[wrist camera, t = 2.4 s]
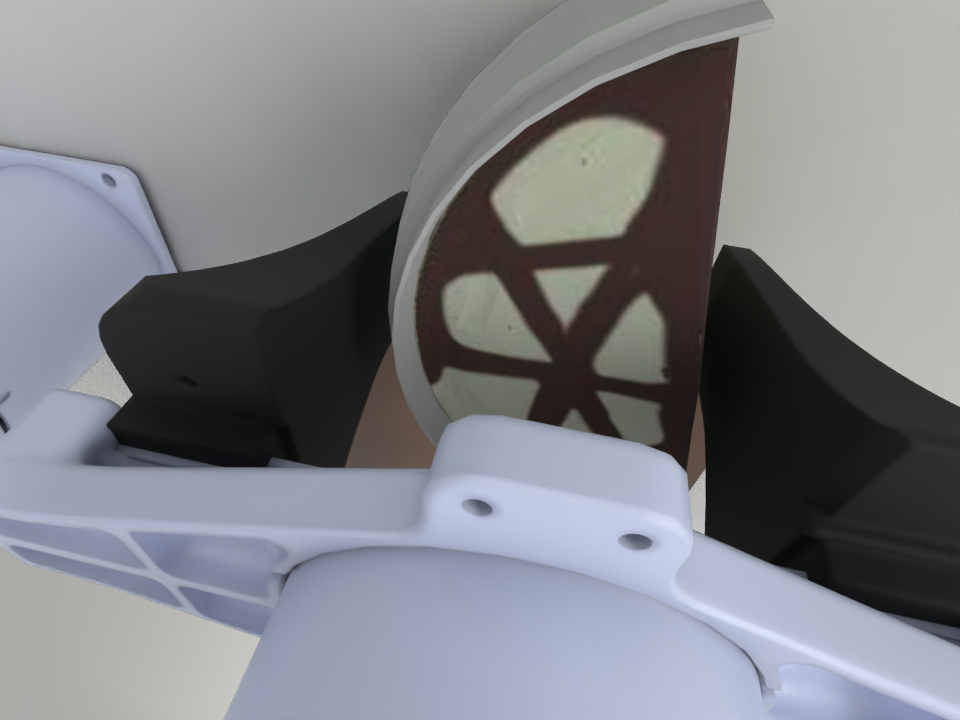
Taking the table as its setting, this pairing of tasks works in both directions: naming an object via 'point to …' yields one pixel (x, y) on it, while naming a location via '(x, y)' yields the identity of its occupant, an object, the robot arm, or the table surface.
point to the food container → (573, 225)
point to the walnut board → (401, 443)
